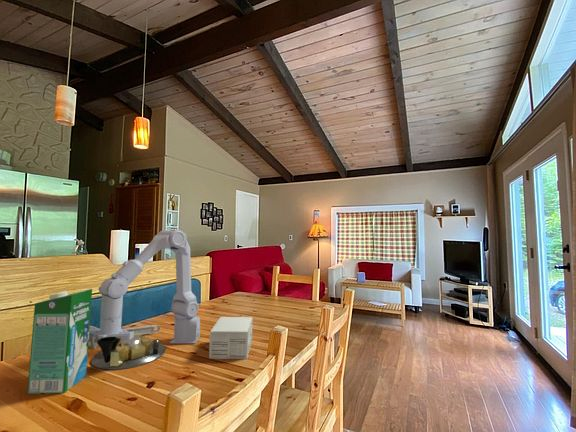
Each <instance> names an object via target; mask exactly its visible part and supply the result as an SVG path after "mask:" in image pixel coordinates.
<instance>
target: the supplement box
mask: <svg viewBox="0 0 576 432" xmlns="http://www.w3.org/2000/svg"><path fill="white" fill-rule="evenodd" d="M253 321H254V319H253V316H252V317H251V316H220V317H219V319H218V320H217V321H216V322H215V324H214V325H213V327H212V328H211V330H210V331H209V350H208V352H209V353H208V355H209V357H208V359H210V360H211V359H212V360H213V359H215V360H220V359H224V360H227V359H229V360H234V359H235V360H237V359H239V360H247V359H248V357H249V353H250V349H251V346H252V342H253Z"/></svg>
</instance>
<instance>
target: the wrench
mask: <svg viewBox="0 0 576 432" xmlns="http://www.w3.org/2000/svg"><path fill="white" fill-rule="evenodd" d="M156 328H157V329H156ZM91 329H100V327H99V328H98V327H96V326H93V325H90V328H89V330H91ZM123 329H124V330H128V331H134V336H135V335H142V336H143V335H144V336H145V335H151V334H157V333H160V331H161V326H160V325H157V324H152V325H144V326H136V327H130V328H129V327H128V328H123ZM155 329H156V330H155ZM100 339H101V338H98V337H89V342H88V349H89V348H92V349H94V350H95V349H97V348H99V345H98V344H97V342H98V341H99V340H100Z"/></svg>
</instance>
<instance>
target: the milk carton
mask: <svg viewBox="0 0 576 432" xmlns="http://www.w3.org/2000/svg"><path fill="white" fill-rule="evenodd" d="M92 296H93V288H89V289H86V290H81V291H76V292H72V293H68V290H65V291H59V292H55V293H51V294H49V296H48V297H49V299H46V300H43V301H40V302H37V303H34V308H33V309H34V310H33V311H34V312H33V319H32V320H33V322H32V332H31V333H32V334H31V346H30V354H29V355H30V356H29V358H30V359H29V368H28V369H29V370H28V382H27V392H26V394H27V395H31V394H32V395H38V394H41V393H44V394H65V393H66V392H68V390H70V389H71V388H72V387H74V386H75V385H76V384H77V383H78V382H80V381H82V380H83V379H84V378H85V377H86V376H87V368H88V355H89V354H88V353H89V348H88V342H89V328H90V326H91V325H90V324H91V311H92V298H93V297H92ZM41 395H42V394H41Z"/></svg>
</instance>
